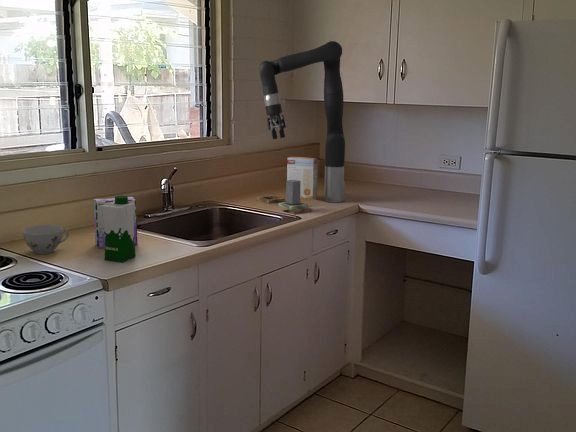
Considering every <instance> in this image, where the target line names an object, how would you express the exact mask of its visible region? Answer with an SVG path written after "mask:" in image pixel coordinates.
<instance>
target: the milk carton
mask: <svg viewBox="0 0 576 432" xmlns="http://www.w3.org/2000/svg"><path fill="white" fill-rule="evenodd" d="M128 197H129V196H127V195H117V196H114V198H115V202H111V203H107V204H105V205H102V206H100V207H101V210H102V214H103V218H104V235H105V247H104V259H103V260H104V261H107V262H117V263H125V262H127V261H129V260H132V259H134V258H136V248H135V246H136V245H135V244H134V221H133V215H134V206H135V203H129V202H128Z"/></svg>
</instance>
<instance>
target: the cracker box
mask: <svg viewBox="0 0 576 432" xmlns="http://www.w3.org/2000/svg"><path fill="white" fill-rule="evenodd" d="M318 160H319V158H318V157H305V156H289V157H287V161H286V162H287V164H286V165H287V166H286V167H287V169H286V170H287V171H286V181H287V180H298V181H301V187H300V199H307V200H316V201H317V199H318V172H319V171H318V170H319V169H318V166H319V165H318V162H319V161H318Z"/></svg>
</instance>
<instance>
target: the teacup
mask: <svg viewBox="0 0 576 432" xmlns="http://www.w3.org/2000/svg"><path fill="white" fill-rule="evenodd" d="M21 232H22V236H23V239H24V242H25V244H26V245H27V247H29V248H30V250H31V251H33V252H34V253H35V254H38V255H46V254H50V253H54V251H55V250H56V249H57V248H58V246H59V245H60V244H61V243H64V242H65V241H66V240H67V239H68V238H69V237H70V231H69V229H68V228H64V227H62V226H60V225H54V224H38V225H31V226H28V227H26V228H23V229H22V230H21ZM64 233H66V236H65V237H64V238H63V234H64Z"/></svg>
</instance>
